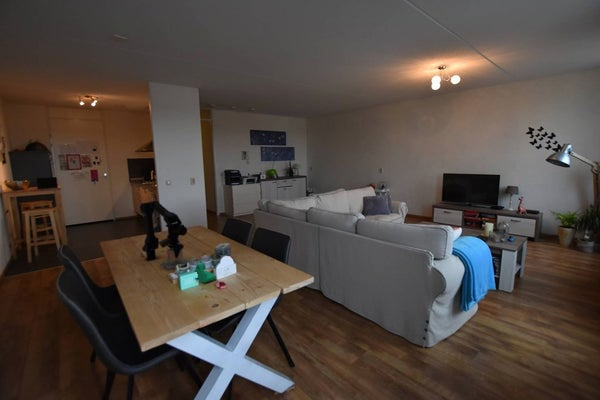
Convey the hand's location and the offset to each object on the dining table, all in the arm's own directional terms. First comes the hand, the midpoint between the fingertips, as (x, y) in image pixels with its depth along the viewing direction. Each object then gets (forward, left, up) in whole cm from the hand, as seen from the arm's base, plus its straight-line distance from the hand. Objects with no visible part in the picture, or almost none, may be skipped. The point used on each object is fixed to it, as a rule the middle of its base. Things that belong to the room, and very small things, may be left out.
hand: (175, 256), depth 186 cm
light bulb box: (+16, +26, -5) cm, 31 cm away
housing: (0, 0, -2) cm, 2 cm away
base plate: (0, 0, -5) cm, 5 cm away
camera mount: (+36, +5, -6) cm, 37 cm away
